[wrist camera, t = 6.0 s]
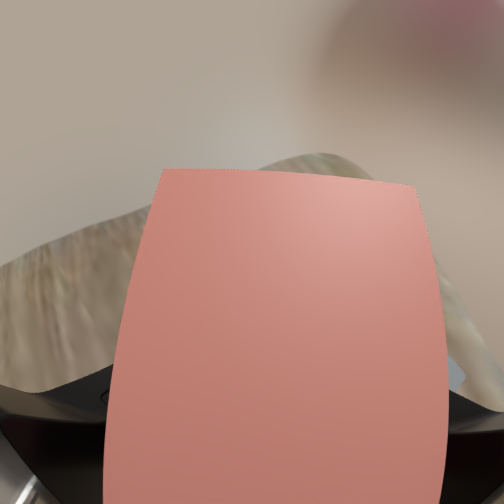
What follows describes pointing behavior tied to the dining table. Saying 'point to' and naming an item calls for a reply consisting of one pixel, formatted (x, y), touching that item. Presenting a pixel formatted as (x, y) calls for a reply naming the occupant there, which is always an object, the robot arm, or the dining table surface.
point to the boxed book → (279, 346)
